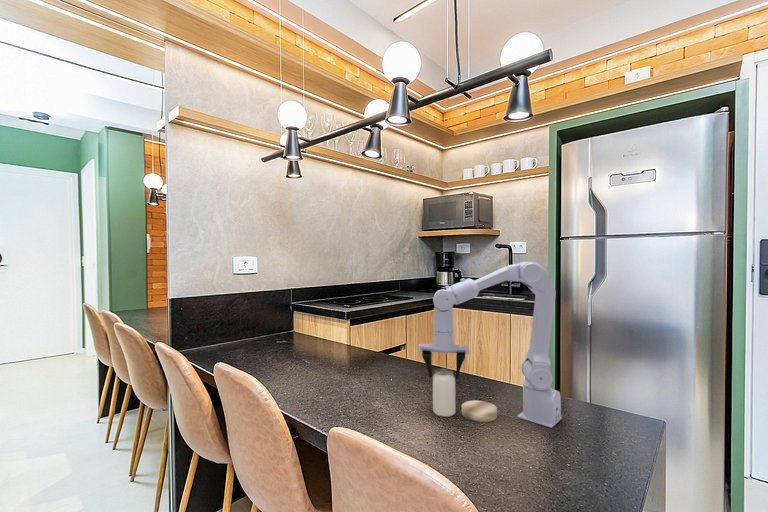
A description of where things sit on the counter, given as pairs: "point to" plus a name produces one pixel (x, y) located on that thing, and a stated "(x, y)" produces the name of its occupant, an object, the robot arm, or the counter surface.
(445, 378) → the can
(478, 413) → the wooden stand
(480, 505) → the counter surface
